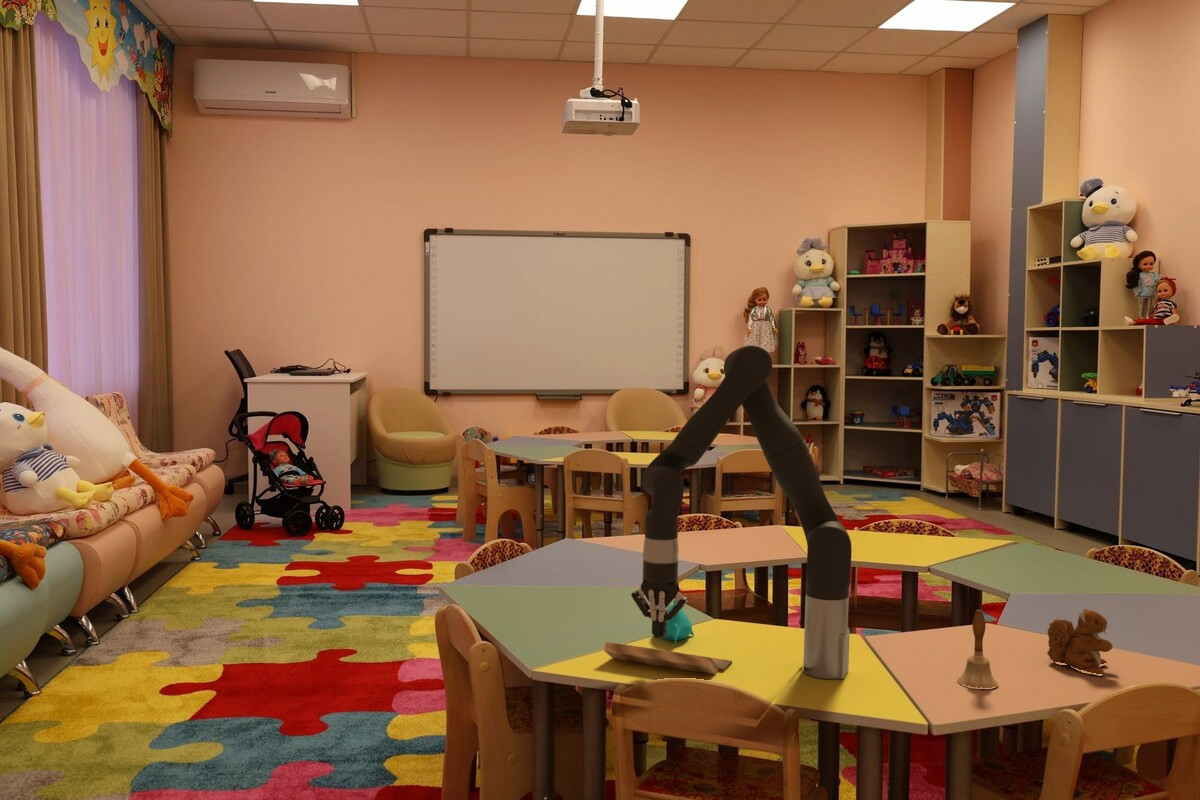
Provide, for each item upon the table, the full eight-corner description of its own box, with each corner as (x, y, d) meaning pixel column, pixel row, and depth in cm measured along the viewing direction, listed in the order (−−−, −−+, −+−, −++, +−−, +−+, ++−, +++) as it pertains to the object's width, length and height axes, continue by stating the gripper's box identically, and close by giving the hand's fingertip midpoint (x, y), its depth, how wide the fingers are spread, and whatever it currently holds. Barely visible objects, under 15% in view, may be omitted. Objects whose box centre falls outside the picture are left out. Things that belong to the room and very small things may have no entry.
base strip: (731, 668, 225) (732, 660, 225) (723, 677, 219) (723, 668, 219) (623, 651, 236) (623, 644, 235) (613, 659, 230) (613, 651, 230)
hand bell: (973, 691, 213) (976, 616, 212) (949, 678, 221) (951, 606, 220) (1006, 688, 215) (1010, 614, 214) (981, 675, 223) (984, 604, 222)
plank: (717, 676, 218) (718, 667, 219) (708, 667, 213) (710, 657, 214) (614, 659, 228) (616, 651, 229) (604, 650, 223) (606, 641, 223)
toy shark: (692, 632, 252) (693, 589, 251) (696, 655, 234) (697, 609, 233) (653, 631, 252) (653, 588, 252) (654, 654, 234) (655, 608, 234)
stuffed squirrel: (1105, 679, 222) (1108, 619, 221) (1037, 665, 231) (1040, 608, 230) (1115, 667, 230) (1118, 610, 229) (1049, 654, 239) (1052, 599, 238)
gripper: (695, 557, 219) (693, 637, 220) (638, 551, 224) (637, 628, 226) (683, 564, 212) (681, 646, 213) (625, 557, 218) (623, 637, 219)
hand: (658, 637), depth 219 cm, fingers closed
